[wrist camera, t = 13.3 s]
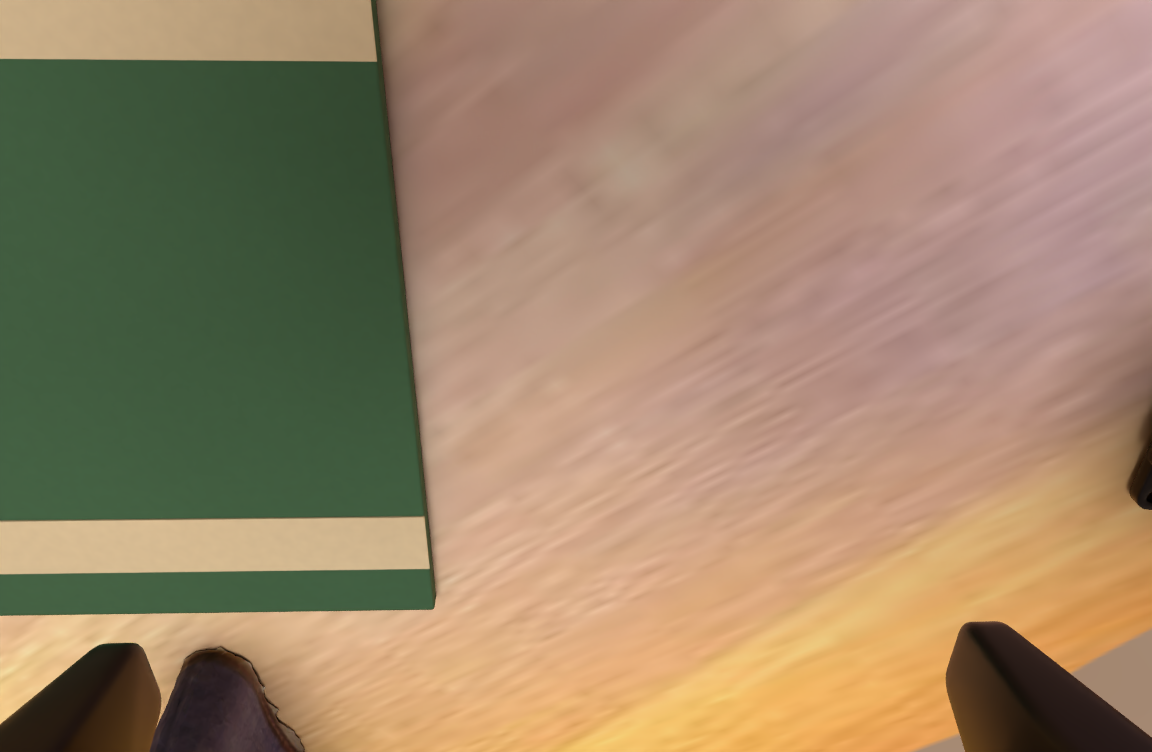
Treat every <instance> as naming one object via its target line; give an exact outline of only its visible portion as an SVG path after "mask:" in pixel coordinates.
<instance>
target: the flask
mask: <svg viewBox="0 0 1152 752" xmlns="http://www.w3.org/2000/svg"><path fill="white" fill-rule="evenodd" d="M234 656H235V655H234V654H232V653H229V652H226V651H225V650H224V649H223V648H221V647H219V648H218V649H216V650H207V649H206V650H205V651H197V652H195V653H193V654H192V655H191V656H189V657H188V658H185V660H184V663H183V665H182V668H181V671H180V674H179V676H178V678H177V680H176V683H175V687H174V689H173V691H172V693H171V696H170V699H169V701H168V704H167V706H166V708H165V711H164V713H163V715H162V717H161V719H160V721H159V723H158V725H157V728H156V730H155V733H154V737H153V741H152V744H151V748H150V751H149V752H303V751H304V750H305V749H304V748H303V746H302V745H301V743H300V740H301V739H299V738H298V737H296V736H295V733H294V731H292V730H290V728H286V726H285V725H282V724H281V723H278V720H277V719H276V716H275V714H276V713H277V711H278V710H279V709H277V708H275V707H274V706H272V705H271V704H269V703H267V701H266V699H265V698H264V689H265V687H262V685H260V683H259V682H258V677H257V676H256V675H255V673H254V671H253V669H252V665H251V664H250V663H249V662H248V661H246V660H245V661H244V659H242V658H241V657H238V656H236V657H234Z"/></svg>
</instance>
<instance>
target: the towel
mask: <svg viewBox="0 0 1152 752" xmlns="http://www.w3.org/2000/svg"><path fill="white" fill-rule="evenodd" d="M435 599H436V592H435V582H434V572H433V562H432V552H431V542H430V532H429V522H428V512H427V503H426V493H425V483H424V473H423V463H422V453H421V443H420V433H419V423H418V414H417V404H416V394H415V384H414V374H413V364H412V354H411V344H410V334H409V325H408V315H407V305H406V295H405V285H404V275H403V265H402V255H401V246H400V236H399V226H398V216H397V206H396V196H395V186H394V176H393V166H392V157H391V147H390V137H389V127H388V117H387V107H386V97H385V87H384V77H383V68H382V58H381V48H380V38H379V28H378V18H377V8H376V0H0V616H7V615H78V614H150V613H221V612H292V611H363V610H432V609H434V606H435Z"/></svg>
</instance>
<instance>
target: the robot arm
mask: <svg viewBox="0 0 1152 752" xmlns="http://www.w3.org/2000/svg"><path fill="white" fill-rule="evenodd" d="M1150 492H1151V493H1150ZM1130 496H1131V498H1132V499H1133V500H1134V501H1135V502H1136V503H1137V504H1138V505H1139V506H1140V507H1141V508H1143V509H1148V510H1152V441H1151V443H1150V446H1149V448H1148V450H1147V452H1146V455H1145V457H1144V459H1143V461H1142V464H1141V466H1140V468H1139V470H1138V472H1137V475H1136V477H1135V479H1134V481H1133V484H1132V486H1131V488H1130ZM946 687H947V693H948V696H949V700H950V703H951V706H952V710H953V713H954V716H955V720H956V723H957V726H958V730H959V733H960V736H961V739H962V743H963V746H964V749H965V752H1152V737H1150V736H1149V735H1148V734H1146V733H1145V732H1144V731H1143V730H1141V729H1140V728H1139V727H1137V726H1136V725H1135V724H1134V723H1132V722H1131V721H1130V720H1129V719H1127V718H1126V717H1125V716H1124V715H1122V714H1121V713H1120V712H1118V711H1117V710H1116V709H1114V708H1113V707H1112V706H1111V705H1109V704H1108V703H1107V702H1106V701H1104V700H1103V699H1102V698H1101V697H1099V696H1098V695H1097V694H1095V693H1094V692H1093V691H1091V690H1090V689H1089V688H1087V687H1086V686H1085V685H1084V684H1083V683H1081V682H1080V681H1078V680H1077V679H1076V678H1075V677H1074V676H1072V675H1071V674H1070V673H1069V672H1067V671H1066V670H1065V669H1063V668H1062V667H1061V666H1060V665H1058V664H1057V663H1056V662H1054V661H1053V660H1052V659H1051V658H1049V657H1048V656H1047V655H1045V654H1044V653H1043V652H1042V651H1040V650H1039V649H1038V648H1037V647H1035V646H1034V645H1033V644H1031V643H1030V642H1029V641H1028V640H1026V639H1025V638H1024V637H1022V636H1021V635H1020V634H1019V633H1017V632H1016V631H1015V630H1013V629H1012V628H1011V627H1009V626H1008V625H1006V624H1004V623H1002V622H996V621H990V622H968V623H966V624H964V625H963V626H962V627H961V629H960V631H959V634H958V637H957V640H956V643H955V646H954V649H953V652H952V655H951V658H950V661H949V664H948V667H947V672H946ZM160 709H161V694H160V690H159V687H158V685H157V682H156V680H155V677H154V674H153V672H152V669H151V667H150V664H149V662H148V659H147V657H146V654H145V652H144V650H143V648H142V647H141V646H139V645H138V644H136V643H108V644H102V645H99V646H97V647H95V648H93V649H92V650H90V651H89V652H88V653H87V654H85V655H84V656H83V657H82V658H81V659H79V660H78V661H77V662H76V663H74V664H73V665H72V666H71V667H70V668H68V669H67V670H66V671H65V672H64V673H62V674H61V675H60V676H59V677H57V678H56V679H55V680H54V681H53V682H51V683H50V684H49V685H48V686H46V687H45V688H44V689H43V690H42V691H40V692H39V693H38V694H37V695H35V696H34V697H33V698H32V699H31V700H29V701H28V702H27V703H26V704H25V705H23V706H22V707H21V708H20V709H18V710H17V711H16V712H15V713H14V714H12V715H11V716H10V717H9V718H7V719H6V720H5V721H4V722H3V723H1V724H0V752H149V751H150V748H151V744H152V741H153V737H154V733H155V730H156V726H157V722H158V719H159V715H160Z"/></svg>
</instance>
